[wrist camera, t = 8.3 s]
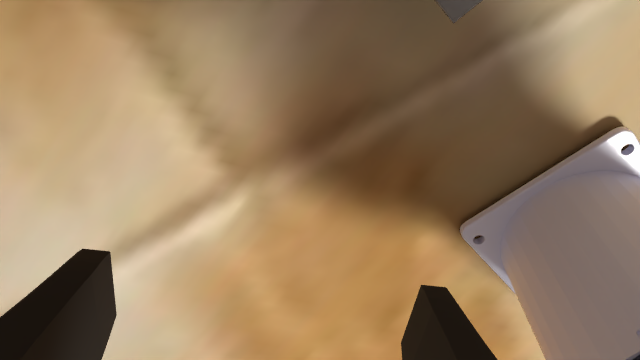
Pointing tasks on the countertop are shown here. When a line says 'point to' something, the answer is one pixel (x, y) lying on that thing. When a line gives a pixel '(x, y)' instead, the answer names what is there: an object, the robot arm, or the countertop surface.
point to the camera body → (456, 7)
